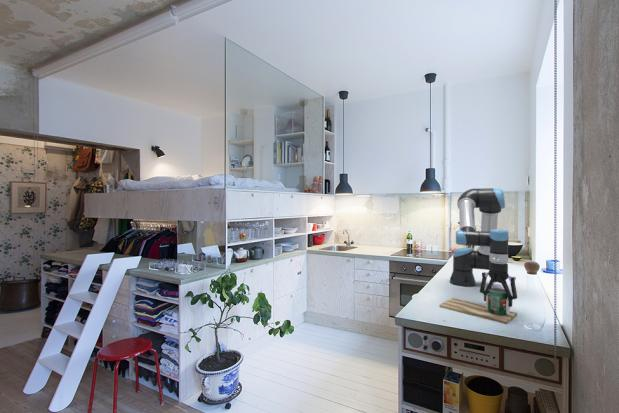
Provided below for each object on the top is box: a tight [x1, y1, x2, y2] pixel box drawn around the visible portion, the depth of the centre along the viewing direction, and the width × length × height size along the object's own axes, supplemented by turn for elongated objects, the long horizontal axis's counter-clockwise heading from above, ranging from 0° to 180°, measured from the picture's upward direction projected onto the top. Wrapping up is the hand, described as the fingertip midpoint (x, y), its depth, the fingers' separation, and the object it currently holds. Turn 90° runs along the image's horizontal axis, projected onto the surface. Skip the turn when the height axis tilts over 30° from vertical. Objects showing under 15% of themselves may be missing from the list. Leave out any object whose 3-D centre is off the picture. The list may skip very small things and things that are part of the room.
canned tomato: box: [488, 287, 508, 316], centre depth 149 cm, size 8×8×11 cm
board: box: [439, 297, 518, 325], centre depth 156 cm, size 16×30×1 cm, turn 43°
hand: (497, 310), depth 149 cm, fingers closed on canned tomato, 8 cm apart
